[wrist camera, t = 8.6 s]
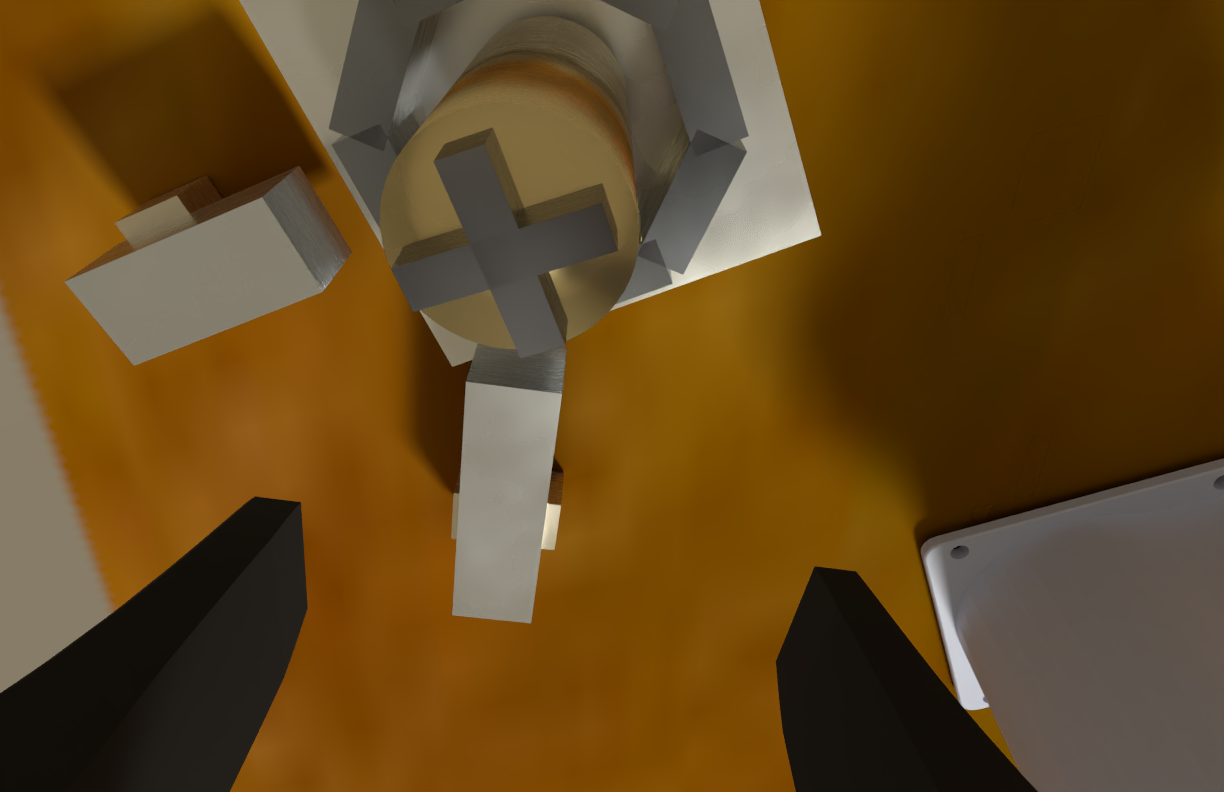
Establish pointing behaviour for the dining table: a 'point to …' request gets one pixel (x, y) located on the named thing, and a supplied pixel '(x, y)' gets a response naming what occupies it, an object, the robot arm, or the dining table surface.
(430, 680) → the dining table surface
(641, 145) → the coupling socket
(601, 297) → the coupler
